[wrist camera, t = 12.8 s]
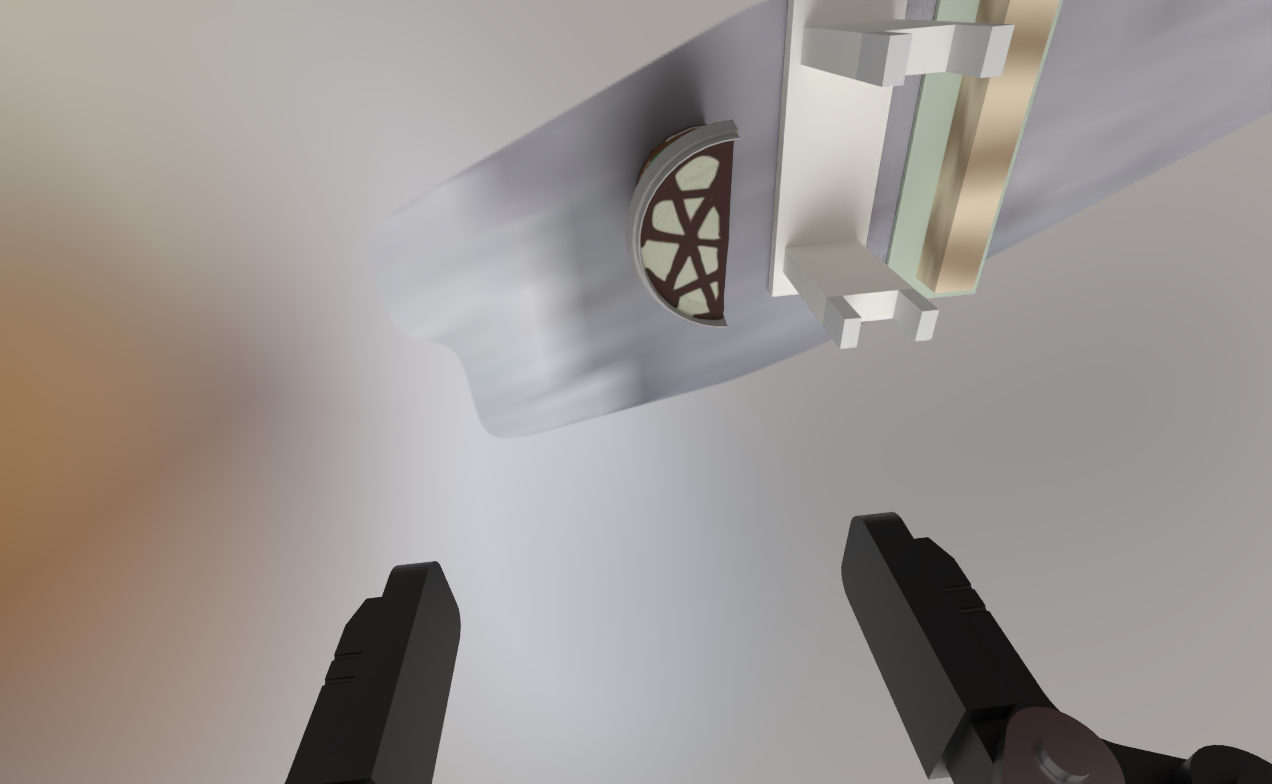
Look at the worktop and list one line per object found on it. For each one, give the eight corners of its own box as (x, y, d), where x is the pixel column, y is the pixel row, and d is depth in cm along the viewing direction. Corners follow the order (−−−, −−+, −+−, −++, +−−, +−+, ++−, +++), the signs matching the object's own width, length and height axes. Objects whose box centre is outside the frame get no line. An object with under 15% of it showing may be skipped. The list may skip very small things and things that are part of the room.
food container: (614, 104, 37) (623, 132, 29) (706, 99, 37) (741, 126, 29) (623, 278, 44) (632, 341, 36) (700, 273, 44) (727, 335, 36)
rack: (789, -12, 34) (882, -20, 23) (902, -22, 34) (1046, -34, 24) (768, 290, 45) (824, 377, 35) (852, 281, 46) (934, 366, 35)
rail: (986, -30, 34) (1018, -32, 32) (1034, -34, 34) (1070, -37, 32) (915, 277, 45) (934, 293, 43) (951, 274, 46) (972, 289, 43)
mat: (950, -68, 33) (954, -68, 33) (1081, -79, 33) (1087, -80, 33) (878, 301, 47) (880, 303, 47) (972, 291, 47) (974, 293, 47)
